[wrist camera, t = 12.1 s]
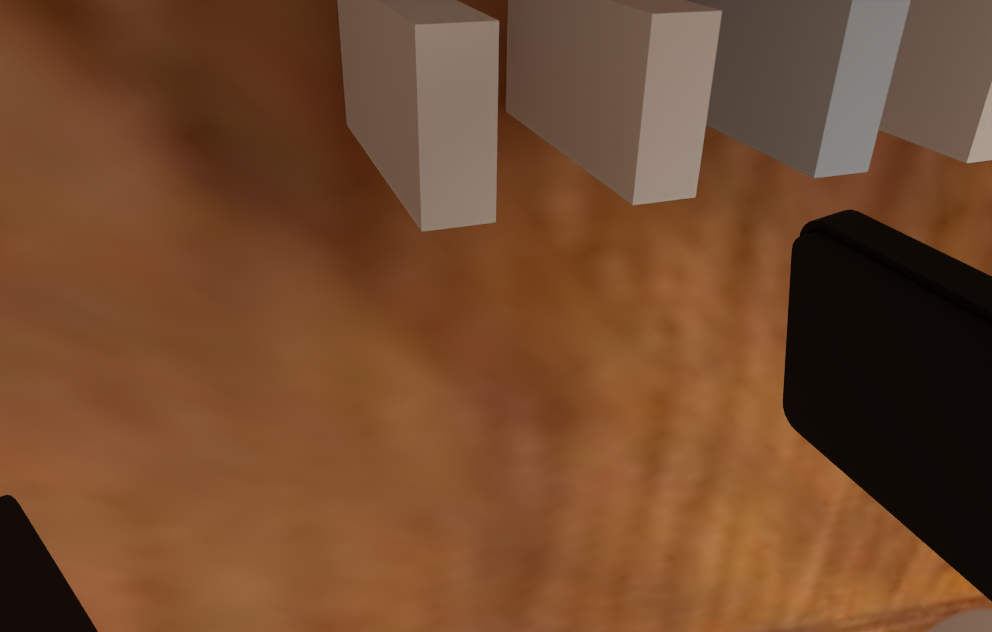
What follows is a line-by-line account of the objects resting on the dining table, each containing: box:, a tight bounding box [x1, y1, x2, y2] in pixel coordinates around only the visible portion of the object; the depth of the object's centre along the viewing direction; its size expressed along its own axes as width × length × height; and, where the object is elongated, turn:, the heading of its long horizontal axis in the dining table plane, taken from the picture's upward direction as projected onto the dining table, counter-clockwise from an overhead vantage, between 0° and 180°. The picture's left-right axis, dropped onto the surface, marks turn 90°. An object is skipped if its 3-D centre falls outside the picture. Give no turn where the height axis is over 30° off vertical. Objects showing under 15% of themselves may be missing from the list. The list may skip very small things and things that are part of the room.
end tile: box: [337, 0, 499, 232], centre depth 24 cm, size 2×5×10 cm, turn 0°
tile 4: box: [878, 0, 992, 163], centre depth 29 cm, size 2×5×10 cm, turn 0°
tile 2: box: [506, 0, 722, 205], centre depth 26 cm, size 2×5×10 cm, turn 0°
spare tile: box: [686, 0, 911, 178], centre depth 27 cm, size 2×5×10 cm, turn 0°
